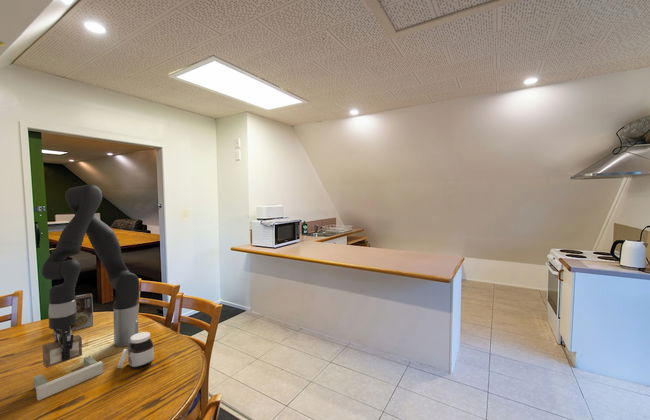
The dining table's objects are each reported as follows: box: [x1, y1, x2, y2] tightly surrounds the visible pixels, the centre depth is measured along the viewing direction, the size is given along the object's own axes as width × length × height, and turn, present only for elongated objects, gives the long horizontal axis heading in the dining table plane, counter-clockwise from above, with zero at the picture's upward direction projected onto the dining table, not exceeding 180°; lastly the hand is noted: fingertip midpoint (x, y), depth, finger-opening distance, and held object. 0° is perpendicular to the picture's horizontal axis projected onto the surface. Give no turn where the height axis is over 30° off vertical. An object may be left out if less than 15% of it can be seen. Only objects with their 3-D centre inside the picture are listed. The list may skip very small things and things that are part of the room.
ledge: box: [33, 355, 104, 402], centre depth 104 cm, size 18×10×4 cm, turn 147°
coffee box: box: [70, 292, 94, 331], centre depth 147 cm, size 9×6×16 cm
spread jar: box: [116, 331, 155, 370], centre depth 114 cm, size 12×11×12 cm
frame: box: [42, 334, 83, 369], centre depth 105 cm, size 10×4×7 cm, turn 146°
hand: (63, 357), depth 105 cm, fingers closed on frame, 4 cm apart
